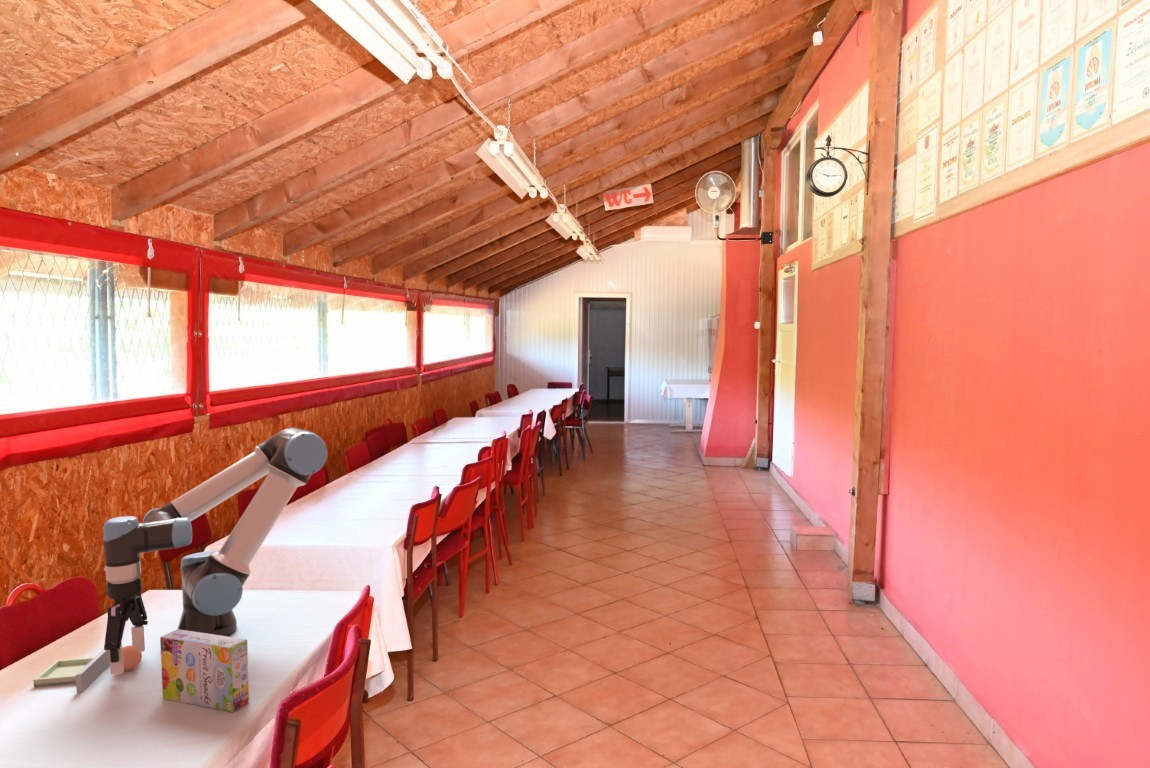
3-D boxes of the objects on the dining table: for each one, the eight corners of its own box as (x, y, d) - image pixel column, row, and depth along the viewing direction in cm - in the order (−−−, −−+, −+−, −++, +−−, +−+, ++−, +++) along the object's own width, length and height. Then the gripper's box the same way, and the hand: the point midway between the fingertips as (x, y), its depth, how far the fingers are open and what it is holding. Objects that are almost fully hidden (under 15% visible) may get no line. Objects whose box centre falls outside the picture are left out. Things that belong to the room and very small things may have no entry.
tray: (104, 662, 191) (103, 656, 191) (83, 682, 180) (83, 675, 180) (57, 666, 189) (56, 660, 189) (33, 687, 178) (33, 679, 178)
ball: (146, 663, 190) (145, 640, 190) (136, 673, 184) (135, 650, 184) (121, 665, 189) (119, 642, 189) (110, 676, 183) (109, 652, 183)
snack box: (251, 701, 170) (248, 638, 168) (232, 713, 164) (229, 648, 163) (180, 688, 176) (177, 627, 175) (160, 699, 171) (157, 636, 170)
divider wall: (122, 653, 196) (121, 636, 196) (82, 692, 175) (81, 674, 175) (117, 653, 196) (116, 637, 196) (76, 693, 175) (75, 674, 174)
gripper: (127, 565, 196) (132, 643, 198) (83, 597, 172) (89, 685, 174) (158, 563, 198) (162, 640, 199) (118, 594, 174) (123, 682, 175)
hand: (128, 662), depth 187 cm, fingers open, 12 cm apart
